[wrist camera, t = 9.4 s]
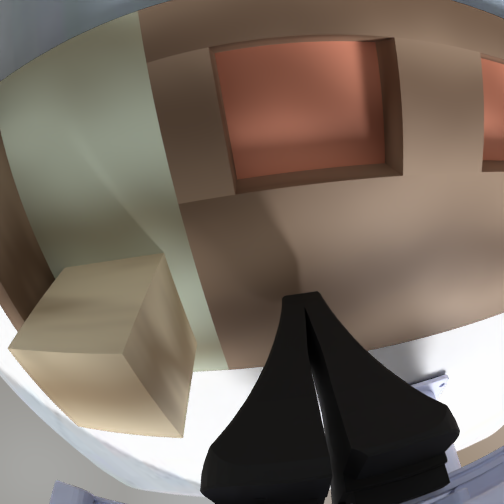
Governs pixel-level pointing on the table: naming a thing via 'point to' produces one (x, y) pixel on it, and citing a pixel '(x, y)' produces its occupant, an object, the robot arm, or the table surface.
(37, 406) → the table surface
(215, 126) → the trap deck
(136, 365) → the pine block
